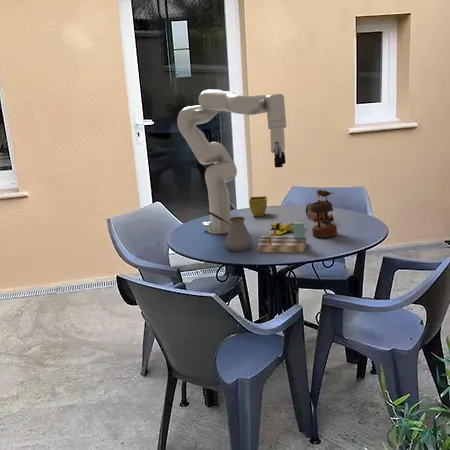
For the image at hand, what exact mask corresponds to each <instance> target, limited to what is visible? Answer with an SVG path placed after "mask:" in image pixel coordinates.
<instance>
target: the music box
mask: <svg viewBox="0 0 450 450" xmlns="http://www.w3.org/2000/svg"><path fill="white" fill-rule="evenodd" d="M316 194H317V198H319V197H320V196H321V198H322V197H324V198H325V200H324V199H317V202H311V203H312V204H311V206H310V209H311V211H312V212H313V213H317V218H316V219H314V221H313V222H314V223H317V224H316V225H313V226H312V229H311V230H312V237H315V238H327V237H333V236H335V235H337V234H338V228H337V227H338V226H337V225H336V224H335V223H333V222H334V221H335V218H334V215H333V213H331V212H333V211H334V207H333V203H332V202H331V201H330V200H329V201H328V198H329V199H331V196H330V195H332V194H333V192H331V191H328V190H325V189H317V191H316ZM324 212H325V217H324ZM327 212H328V213H330V215H329V214H328V215H327ZM321 213H322V214H321ZM319 215H320V218H319ZM316 221H317V222H316ZM320 221H321V223H320ZM322 221H324V222H322ZM331 222H332V223H331Z"/></svg>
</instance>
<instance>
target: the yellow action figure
mask: <svg viewBox="0 0 450 450" xmlns="http://www.w3.org/2000/svg"><path fill="white" fill-rule="evenodd" d="M298 222H304V220H298ZM293 223H294V222H290V223H287V224H283V223H282V222H281V223H279V222H272V223H271V224H270V226H271V227H270V228H272V229H273V230H276V236H281V235H283V234H285V233H288V232H291V233H292V234H294V228H293ZM268 236H274V232H272V233H270V234H269V235H268Z"/></svg>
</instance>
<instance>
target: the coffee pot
mask: <svg viewBox="0 0 450 450" xmlns="http://www.w3.org/2000/svg"><path fill="white" fill-rule="evenodd" d="M206 213H208V215H210V214H211V215H213V216H214V217H215V218H217V219H219V220H221V221H223V222H225V223H227V224H228V225H230V229H229V232H228V233H227V234H226V235H227V236H226V238H225V241H224V244H225V246H226V247H227V248H228V249H229V250H230V251H233V252H242V251H246V250H248V249H249V248H250V247H251V246H252V245H253V239H252V236H251V235H250V233H249V230H248V229H247V227H246V224H245V223H244V222H245V219H246V218H245V217H243V216H233V217H231V218H230V219H229V220H230V221H231V223H229V222H227V221H225V220H224V219H222V218H221V217H219V216H218V215H215V214H213V213H211V212H210V210H208V211H206Z"/></svg>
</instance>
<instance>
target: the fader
mask: <svg viewBox="0 0 450 450" xmlns="http://www.w3.org/2000/svg"><path fill="white" fill-rule="evenodd" d="M292 223H293V228H294V233H293V236H294V238H295V240H304V236H305V235H306V234H305V221H303V222H299V221H294V222H292ZM305 237H306V236H305Z"/></svg>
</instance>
